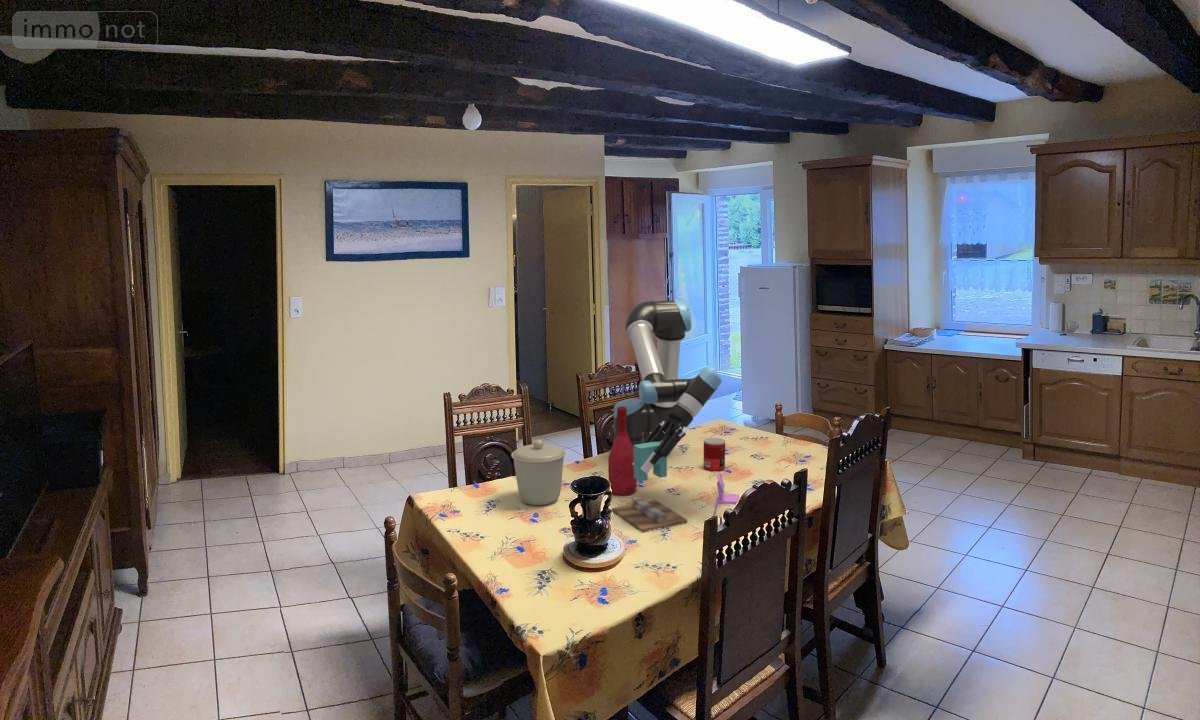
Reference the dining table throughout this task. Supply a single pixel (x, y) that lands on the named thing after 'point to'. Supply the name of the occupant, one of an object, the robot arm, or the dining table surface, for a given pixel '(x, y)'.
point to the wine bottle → (622, 459)
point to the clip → (640, 458)
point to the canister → (539, 472)
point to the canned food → (714, 454)
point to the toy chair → (724, 497)
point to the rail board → (645, 519)
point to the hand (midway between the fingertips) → (639, 468)
